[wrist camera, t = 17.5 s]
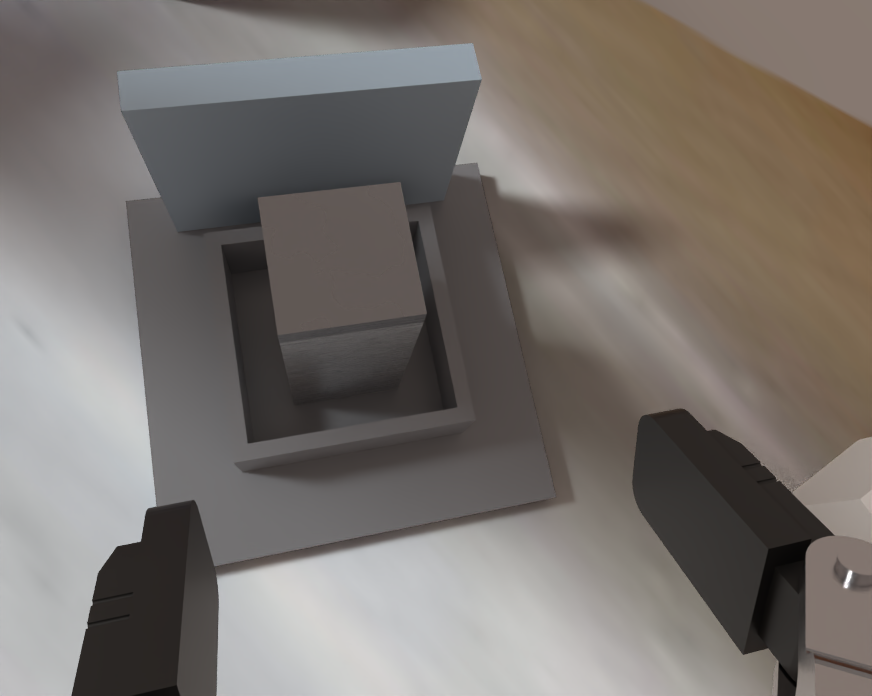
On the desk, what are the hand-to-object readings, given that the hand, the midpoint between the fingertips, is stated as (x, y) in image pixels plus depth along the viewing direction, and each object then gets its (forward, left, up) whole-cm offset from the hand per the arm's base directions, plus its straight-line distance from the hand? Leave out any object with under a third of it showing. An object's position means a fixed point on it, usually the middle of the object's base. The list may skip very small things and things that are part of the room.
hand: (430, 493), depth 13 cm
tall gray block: (0, +8, -17) cm, 19 cm away
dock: (0, +8, -18) cm, 20 cm away
